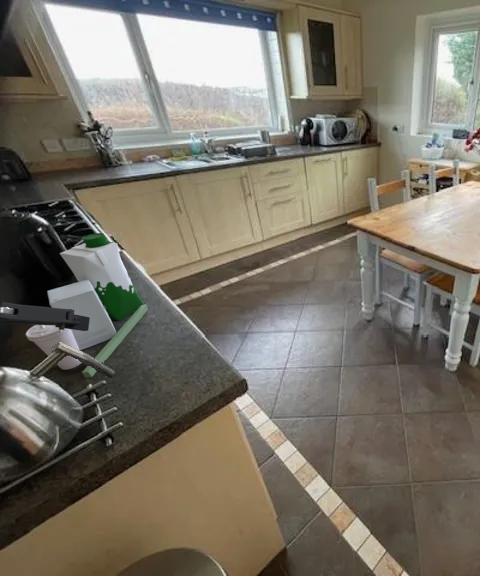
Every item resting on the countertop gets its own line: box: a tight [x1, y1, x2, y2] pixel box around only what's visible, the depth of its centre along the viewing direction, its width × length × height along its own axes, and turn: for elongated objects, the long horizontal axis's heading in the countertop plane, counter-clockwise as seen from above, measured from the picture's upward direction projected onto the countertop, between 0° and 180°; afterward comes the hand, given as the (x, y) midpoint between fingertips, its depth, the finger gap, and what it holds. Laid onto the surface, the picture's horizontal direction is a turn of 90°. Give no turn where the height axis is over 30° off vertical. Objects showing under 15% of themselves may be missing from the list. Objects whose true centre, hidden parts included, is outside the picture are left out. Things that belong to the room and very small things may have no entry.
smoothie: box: [25, 325, 83, 371], centre depth 65 cm, size 6×6×14 cm
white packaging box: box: [46, 279, 118, 351], centre depth 73 cm, size 7×7×13 cm
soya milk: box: [59, 232, 145, 322], centre depth 80 cm, size 9×9×20 cm
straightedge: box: [81, 304, 149, 379], centre depth 75 cm, size 1×24×2 cm, turn 8°
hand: (49, 327), depth 64 cm, fingers open, 13 cm apart
